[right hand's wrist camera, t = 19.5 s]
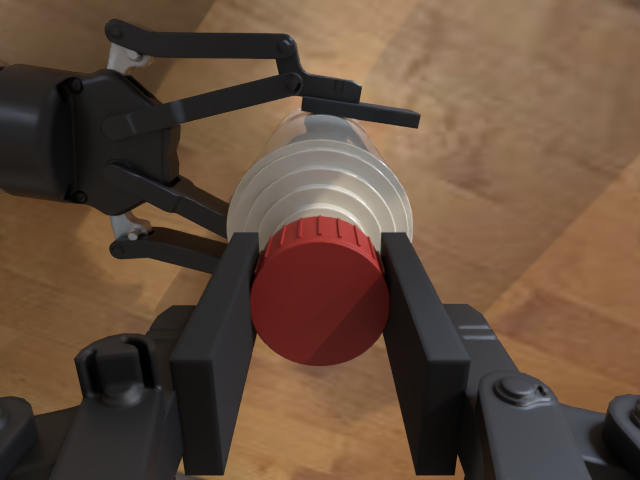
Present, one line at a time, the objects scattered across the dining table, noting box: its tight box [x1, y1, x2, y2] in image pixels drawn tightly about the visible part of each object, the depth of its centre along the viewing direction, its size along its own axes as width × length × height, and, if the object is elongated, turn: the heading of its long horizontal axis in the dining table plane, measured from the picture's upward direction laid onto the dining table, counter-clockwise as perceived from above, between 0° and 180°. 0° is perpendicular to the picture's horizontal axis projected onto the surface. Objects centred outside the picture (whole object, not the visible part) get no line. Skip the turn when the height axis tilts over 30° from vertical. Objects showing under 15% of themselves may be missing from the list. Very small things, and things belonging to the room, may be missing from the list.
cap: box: [250, 215, 390, 366], centre depth 13 cm, size 4×4×2 cm
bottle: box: [227, 108, 413, 253], centre depth 23 cm, size 7×7×22 cm
